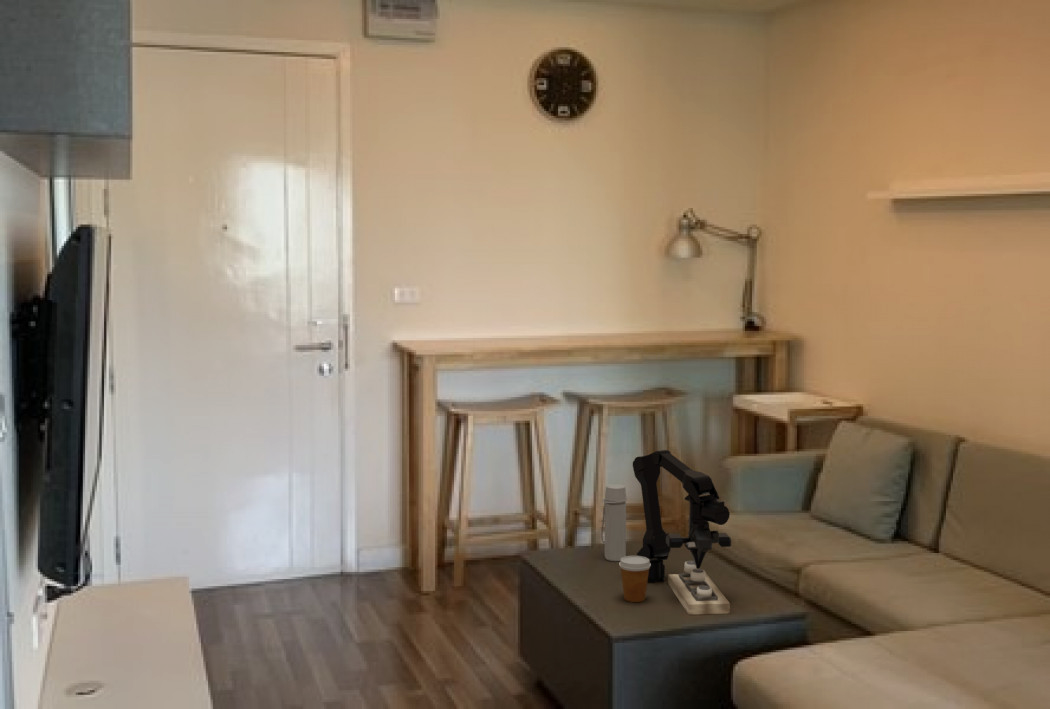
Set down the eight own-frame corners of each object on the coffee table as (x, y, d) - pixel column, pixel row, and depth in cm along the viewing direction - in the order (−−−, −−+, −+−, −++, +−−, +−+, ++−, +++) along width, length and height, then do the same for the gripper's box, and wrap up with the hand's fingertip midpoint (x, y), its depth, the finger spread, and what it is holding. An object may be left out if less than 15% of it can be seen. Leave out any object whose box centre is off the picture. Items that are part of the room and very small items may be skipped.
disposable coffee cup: (629, 606, 315) (630, 566, 314) (612, 596, 323) (612, 557, 322) (656, 600, 319) (657, 561, 318) (639, 591, 328) (639, 553, 326)
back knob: (686, 573, 327) (686, 564, 326) (683, 569, 331) (683, 560, 331) (700, 573, 327) (700, 564, 327) (697, 568, 331) (697, 559, 331)
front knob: (698, 599, 311) (698, 589, 311) (695, 594, 315) (695, 584, 315) (713, 598, 311) (713, 589, 311) (709, 593, 316) (709, 584, 315)
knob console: (688, 614, 307) (688, 601, 307) (668, 583, 335) (668, 571, 335) (729, 613, 308) (729, 599, 308) (705, 582, 336) (706, 570, 336)
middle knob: (692, 581, 319) (692, 572, 318) (688, 577, 323) (689, 568, 323) (706, 581, 319) (707, 572, 319) (703, 576, 323) (703, 567, 323)
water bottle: (630, 558, 362) (631, 485, 359) (617, 563, 356) (618, 490, 353) (607, 553, 368) (608, 482, 365) (595, 558, 362) (595, 486, 359)
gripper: (673, 525, 310) (672, 577, 312) (736, 523, 312) (735, 575, 313) (665, 515, 321) (665, 565, 323) (726, 514, 323) (725, 564, 324)
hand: (697, 568), depth 321 cm, fingers closed
